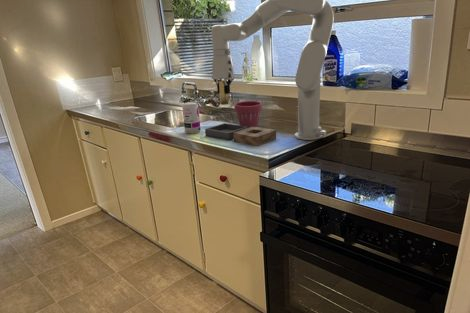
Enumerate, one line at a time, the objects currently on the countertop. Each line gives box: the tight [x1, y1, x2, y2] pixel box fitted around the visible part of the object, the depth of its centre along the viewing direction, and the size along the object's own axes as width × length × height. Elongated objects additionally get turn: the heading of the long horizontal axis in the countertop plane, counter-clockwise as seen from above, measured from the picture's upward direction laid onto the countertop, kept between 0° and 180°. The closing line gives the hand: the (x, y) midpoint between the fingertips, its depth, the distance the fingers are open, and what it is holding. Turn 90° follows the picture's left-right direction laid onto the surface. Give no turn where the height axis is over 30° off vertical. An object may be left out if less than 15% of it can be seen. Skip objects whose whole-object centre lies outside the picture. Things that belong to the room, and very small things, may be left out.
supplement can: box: [181, 101, 201, 134], centre depth 180 cm, size 8×8×15 cm
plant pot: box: [234, 100, 263, 128], centre depth 182 cm, size 14×14×13 cm
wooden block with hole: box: [232, 126, 277, 147], centre depth 160 cm, size 14×14×4 cm
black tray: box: [204, 122, 248, 141], centre depth 172 cm, size 16×14×4 cm
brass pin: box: [219, 79, 230, 106], centre depth 166 cm, size 4×4×11 cm
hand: (223, 92), depth 166 cm, fingers closed on brass pin, 4 cm apart
